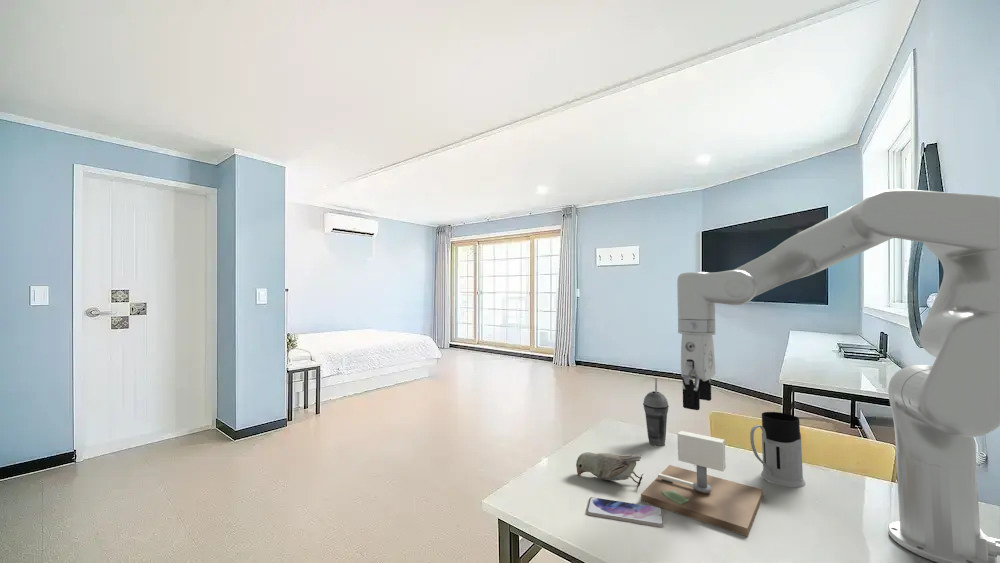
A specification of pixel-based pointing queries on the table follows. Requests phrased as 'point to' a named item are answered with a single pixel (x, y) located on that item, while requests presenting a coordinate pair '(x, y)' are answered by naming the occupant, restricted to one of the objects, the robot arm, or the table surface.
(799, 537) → the table surface
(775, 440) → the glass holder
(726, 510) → the brown wooden flat slab
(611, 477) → the decorative bird
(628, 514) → the smartphone
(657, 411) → the beverage cup
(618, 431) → the table surface
